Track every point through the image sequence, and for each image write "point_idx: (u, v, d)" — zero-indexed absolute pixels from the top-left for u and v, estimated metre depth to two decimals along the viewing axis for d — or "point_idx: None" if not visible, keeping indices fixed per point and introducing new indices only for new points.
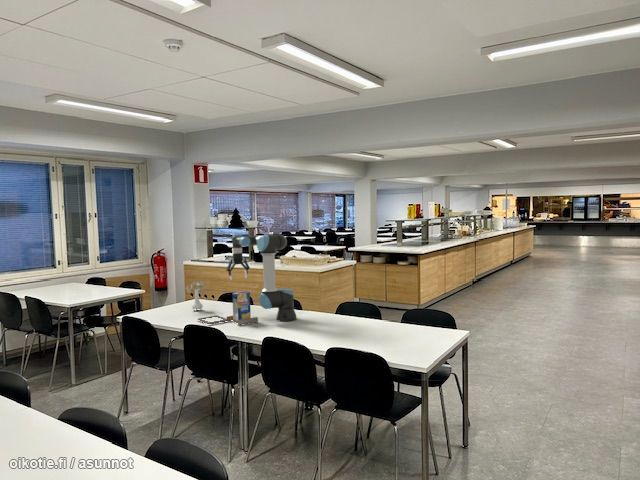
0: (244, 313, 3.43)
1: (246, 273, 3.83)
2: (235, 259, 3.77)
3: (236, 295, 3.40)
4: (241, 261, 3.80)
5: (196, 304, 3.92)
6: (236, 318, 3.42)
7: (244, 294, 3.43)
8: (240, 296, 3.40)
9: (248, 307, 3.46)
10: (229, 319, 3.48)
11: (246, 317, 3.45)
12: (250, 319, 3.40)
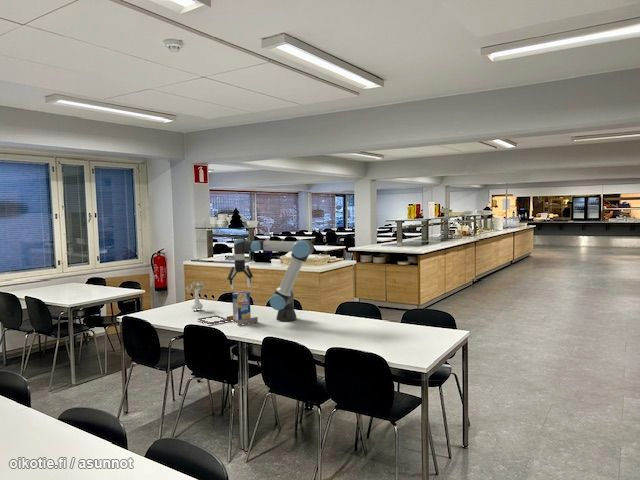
0: (244, 313, 3.43)
1: (249, 282, 3.48)
2: (237, 266, 3.41)
3: (236, 295, 3.40)
4: (243, 269, 3.44)
5: (196, 304, 3.92)
6: (236, 318, 3.42)
7: (244, 294, 3.43)
8: (240, 296, 3.40)
9: (248, 307, 3.45)
10: (229, 319, 3.48)
11: (246, 317, 3.45)
12: (250, 319, 3.40)
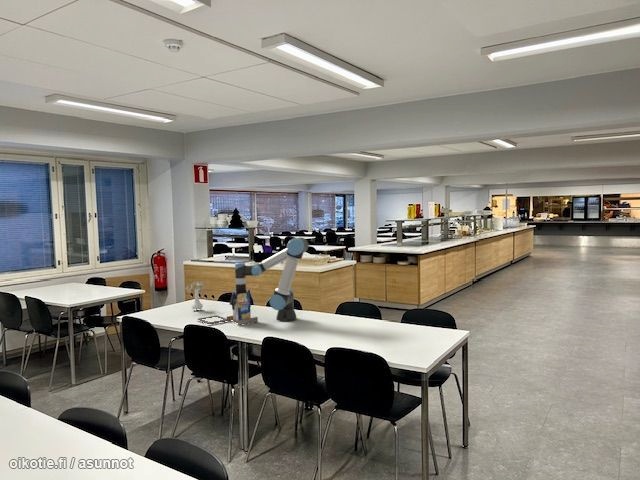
0: (244, 313, 3.43)
1: None
2: (238, 291, 3.42)
3: (236, 295, 3.40)
4: None
5: (196, 304, 3.92)
6: (236, 318, 3.42)
7: (244, 294, 3.43)
8: (240, 296, 3.40)
9: (248, 307, 3.46)
10: (229, 319, 3.48)
11: (246, 317, 3.45)
12: (250, 319, 3.40)
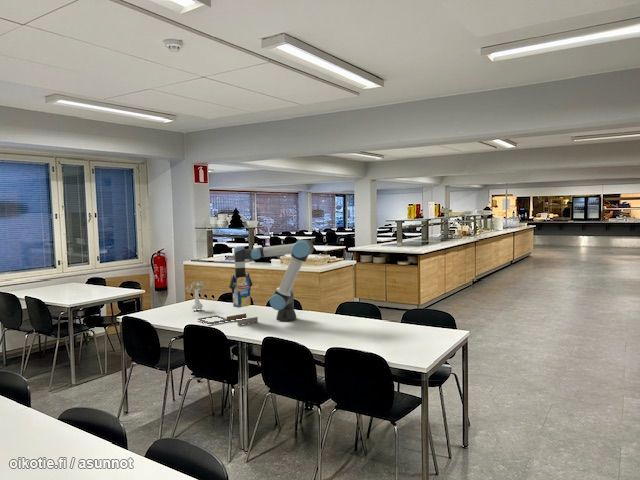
0: (244, 297, 3.42)
1: None
2: (237, 274, 3.42)
3: (236, 279, 3.39)
4: (244, 276, 3.44)
5: (196, 304, 3.92)
6: (235, 302, 3.41)
7: (244, 278, 3.42)
8: (240, 280, 3.40)
9: (248, 291, 3.45)
10: (229, 319, 3.48)
11: (246, 301, 3.44)
12: (250, 319, 3.40)
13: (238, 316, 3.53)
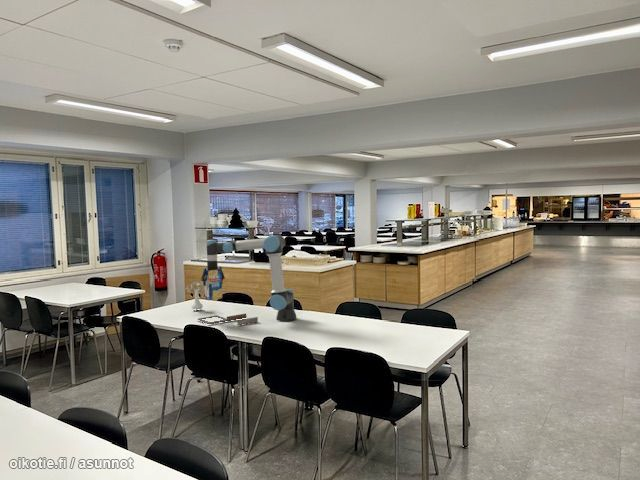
0: (215, 290, 3.47)
1: None
2: (209, 267, 3.46)
3: (207, 271, 3.44)
4: (216, 269, 3.49)
5: (196, 304, 3.92)
6: (207, 294, 3.46)
7: (215, 271, 3.47)
8: (211, 272, 3.44)
9: (219, 284, 3.49)
10: (229, 319, 3.48)
11: (218, 293, 3.49)
12: (250, 319, 3.40)
13: (238, 316, 3.53)
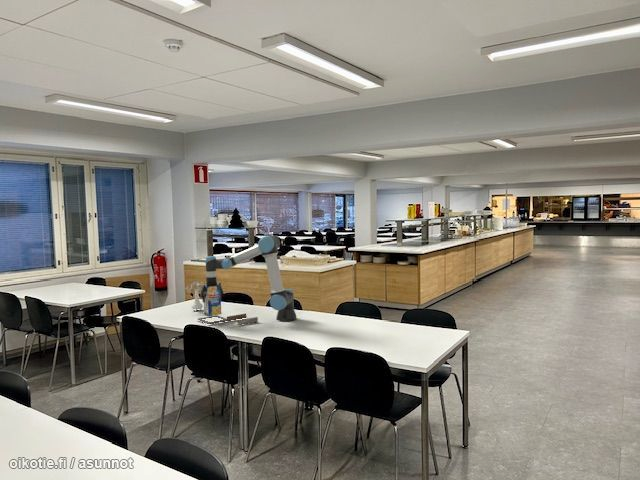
0: (214, 306, 3.48)
1: None
2: (208, 284, 3.47)
3: (206, 288, 3.44)
4: None
5: (196, 304, 3.92)
6: (206, 310, 3.47)
7: (214, 287, 3.48)
8: (210, 289, 3.45)
9: (218, 300, 3.50)
10: (229, 319, 3.48)
11: (217, 310, 3.50)
12: (250, 319, 3.40)
13: (238, 316, 3.53)
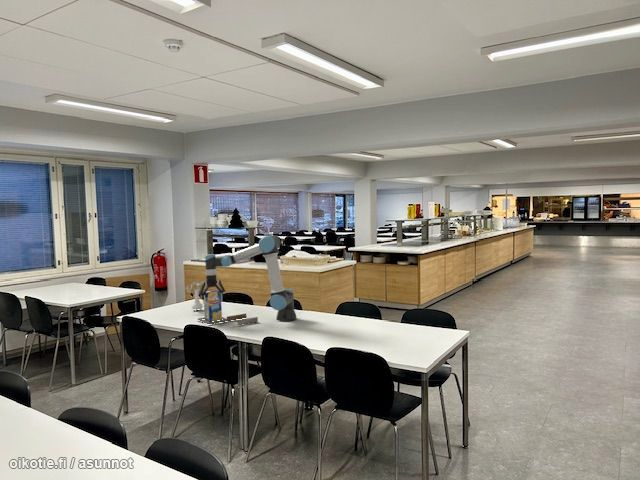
0: (215, 312, 3.48)
1: (221, 296, 3.53)
2: (208, 282, 3.47)
3: (207, 294, 3.45)
4: (215, 283, 3.50)
5: (196, 304, 3.92)
6: (207, 316, 3.47)
7: (215, 293, 3.48)
8: (211, 295, 3.46)
9: (219, 305, 3.51)
10: (229, 319, 3.48)
11: (218, 315, 3.50)
12: (250, 319, 3.40)
13: (238, 316, 3.53)
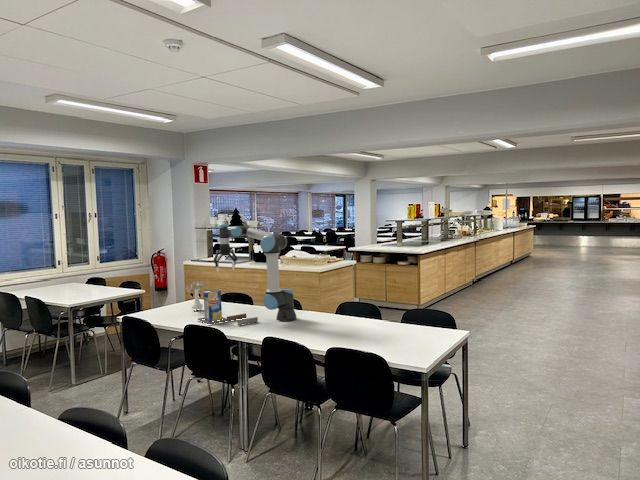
0: (215, 312, 3.48)
1: (234, 265, 3.68)
2: (222, 250, 3.62)
3: (207, 294, 3.45)
4: (228, 252, 3.65)
5: (196, 304, 3.92)
6: (207, 316, 3.47)
7: (215, 293, 3.48)
8: (211, 295, 3.46)
9: (219, 305, 3.51)
10: (229, 319, 3.48)
11: (218, 315, 3.50)
12: (250, 319, 3.40)
13: (238, 316, 3.53)
